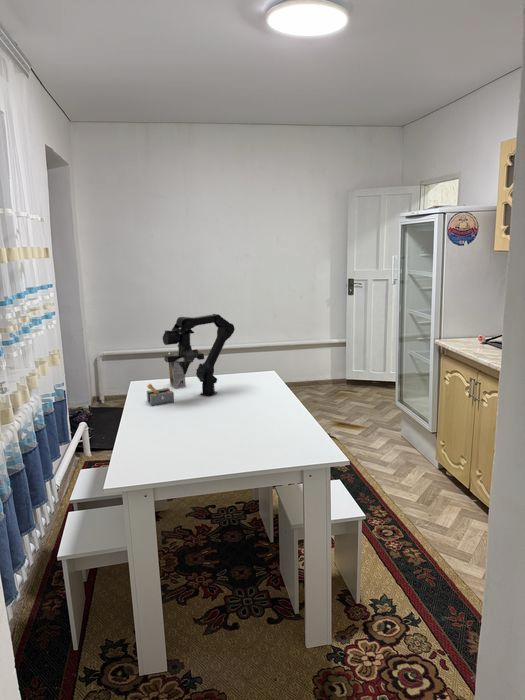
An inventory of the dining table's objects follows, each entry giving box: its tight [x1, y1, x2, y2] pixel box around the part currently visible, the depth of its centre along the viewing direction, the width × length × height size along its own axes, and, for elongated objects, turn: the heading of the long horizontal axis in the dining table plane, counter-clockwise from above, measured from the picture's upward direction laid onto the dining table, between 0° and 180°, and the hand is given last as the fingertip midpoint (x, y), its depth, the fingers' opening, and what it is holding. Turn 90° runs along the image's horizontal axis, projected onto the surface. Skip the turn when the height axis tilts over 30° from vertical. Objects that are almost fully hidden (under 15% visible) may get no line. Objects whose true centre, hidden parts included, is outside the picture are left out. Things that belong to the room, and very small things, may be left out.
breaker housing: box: [146, 387, 175, 407], centre depth 257 cm, size 11×10×5 cm
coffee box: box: [168, 354, 186, 389], centre depth 283 cm, size 9×6×16 cm
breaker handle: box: [146, 383, 159, 394], centre depth 255 cm, size 2×2×8 cm
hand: (184, 374), depth 257 cm, fingers closed
